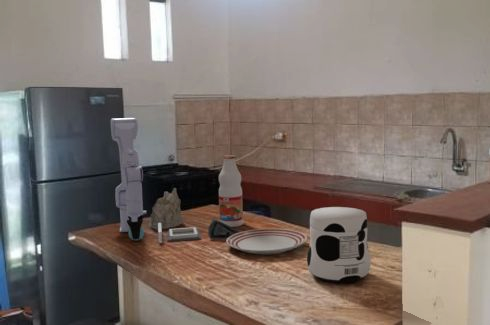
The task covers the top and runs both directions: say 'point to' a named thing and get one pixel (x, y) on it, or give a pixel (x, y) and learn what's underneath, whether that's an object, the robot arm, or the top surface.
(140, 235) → the ball
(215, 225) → the chocolate cake
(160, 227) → the wall
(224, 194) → the fruit juice
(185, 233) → the mat
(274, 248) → the dinner plate
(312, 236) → the milk container
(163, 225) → the jagged rock
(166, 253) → the top surface
